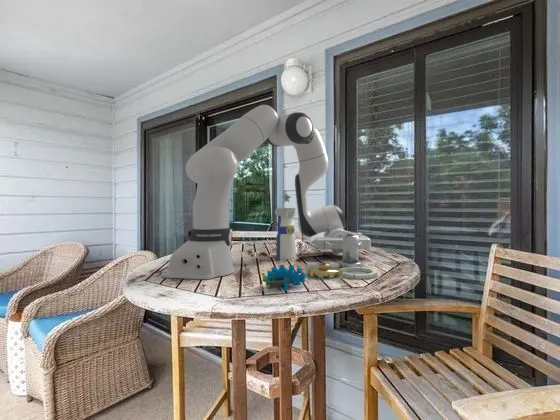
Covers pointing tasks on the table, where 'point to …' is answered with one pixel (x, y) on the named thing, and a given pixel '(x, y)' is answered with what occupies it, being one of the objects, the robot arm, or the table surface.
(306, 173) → the robot arm
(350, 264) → the grey cylindrical peg
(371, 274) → the seat ring
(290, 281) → the gear
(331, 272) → the brass gear
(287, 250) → the white piece
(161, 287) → the table surface
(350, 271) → the gear board
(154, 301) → the table surface
